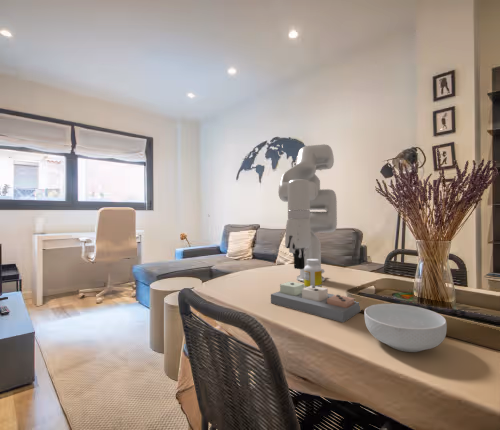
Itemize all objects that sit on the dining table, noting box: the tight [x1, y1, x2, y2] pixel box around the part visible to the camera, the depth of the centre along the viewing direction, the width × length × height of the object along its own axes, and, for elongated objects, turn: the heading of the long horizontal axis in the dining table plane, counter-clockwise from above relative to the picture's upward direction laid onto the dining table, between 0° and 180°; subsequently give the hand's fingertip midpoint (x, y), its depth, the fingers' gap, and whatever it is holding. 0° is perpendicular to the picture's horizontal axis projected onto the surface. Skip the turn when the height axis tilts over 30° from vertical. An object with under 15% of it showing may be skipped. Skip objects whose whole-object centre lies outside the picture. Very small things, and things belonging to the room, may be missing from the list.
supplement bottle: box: [303, 259, 323, 288], centre depth 109 cm, size 7×7×13 cm
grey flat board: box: [270, 290, 361, 323], centre depth 92 cm, size 14×26×3 cm, turn 47°
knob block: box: [279, 281, 304, 296], centre depth 98 cm, size 6×6×4 cm
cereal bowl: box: [364, 303, 448, 353], centre depth 65 cm, size 17×17×7 cm
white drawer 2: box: [302, 286, 329, 302], centre depth 92 cm, size 6×6×4 cm
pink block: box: [327, 294, 355, 308], centre depth 86 cm, size 6×6×4 cm
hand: (299, 268), depth 97 cm, fingers closed
